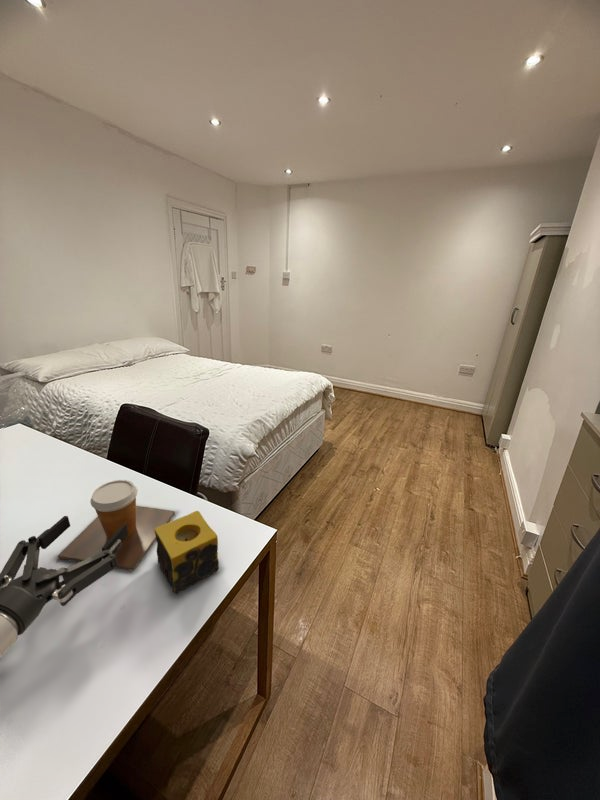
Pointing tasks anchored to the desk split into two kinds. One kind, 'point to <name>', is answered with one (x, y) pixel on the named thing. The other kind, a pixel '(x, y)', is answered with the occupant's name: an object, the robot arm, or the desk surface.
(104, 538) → the placemat
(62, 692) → the desk surface
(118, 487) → the disposable coffee cup
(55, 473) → the desk surface
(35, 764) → the desk surface
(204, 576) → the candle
